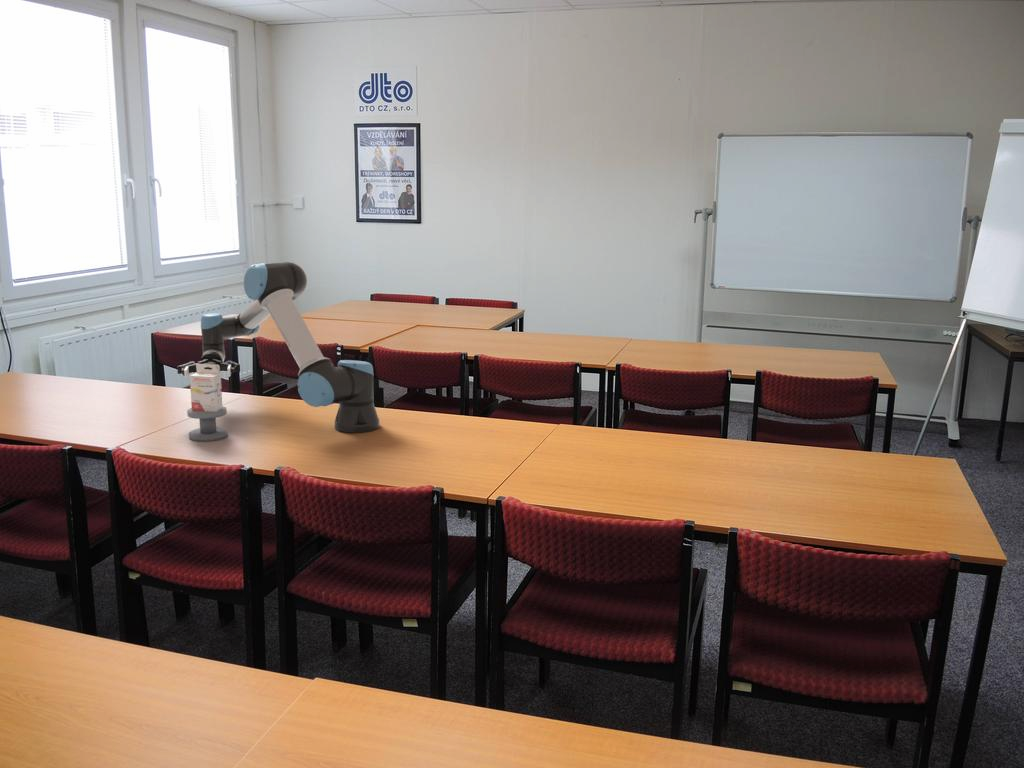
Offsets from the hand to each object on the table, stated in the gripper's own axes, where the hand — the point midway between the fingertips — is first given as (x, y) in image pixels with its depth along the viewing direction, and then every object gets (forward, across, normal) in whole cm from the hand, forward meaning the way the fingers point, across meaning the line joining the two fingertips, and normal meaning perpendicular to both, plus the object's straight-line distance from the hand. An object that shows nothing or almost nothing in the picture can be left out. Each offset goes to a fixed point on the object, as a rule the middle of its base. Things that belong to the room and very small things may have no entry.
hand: (207, 373), depth 277 cm
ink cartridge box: (+9, 0, -10) cm, 14 cm away
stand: (+9, 0, -19) cm, 21 cm away
